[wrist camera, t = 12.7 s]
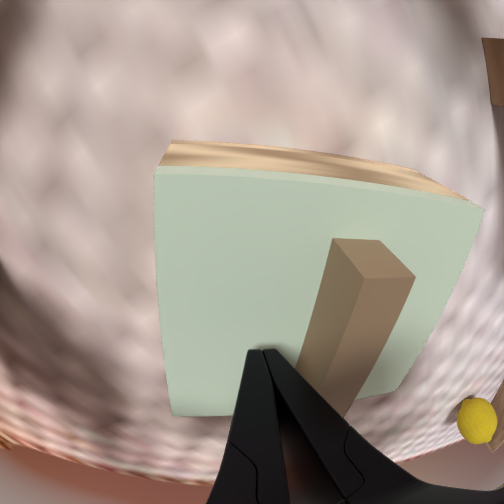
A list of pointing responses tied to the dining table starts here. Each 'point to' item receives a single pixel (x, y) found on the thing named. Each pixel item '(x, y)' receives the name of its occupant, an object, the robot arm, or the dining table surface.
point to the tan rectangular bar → (495, 68)
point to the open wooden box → (298, 164)
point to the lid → (299, 279)
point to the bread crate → (498, 420)
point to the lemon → (477, 420)
